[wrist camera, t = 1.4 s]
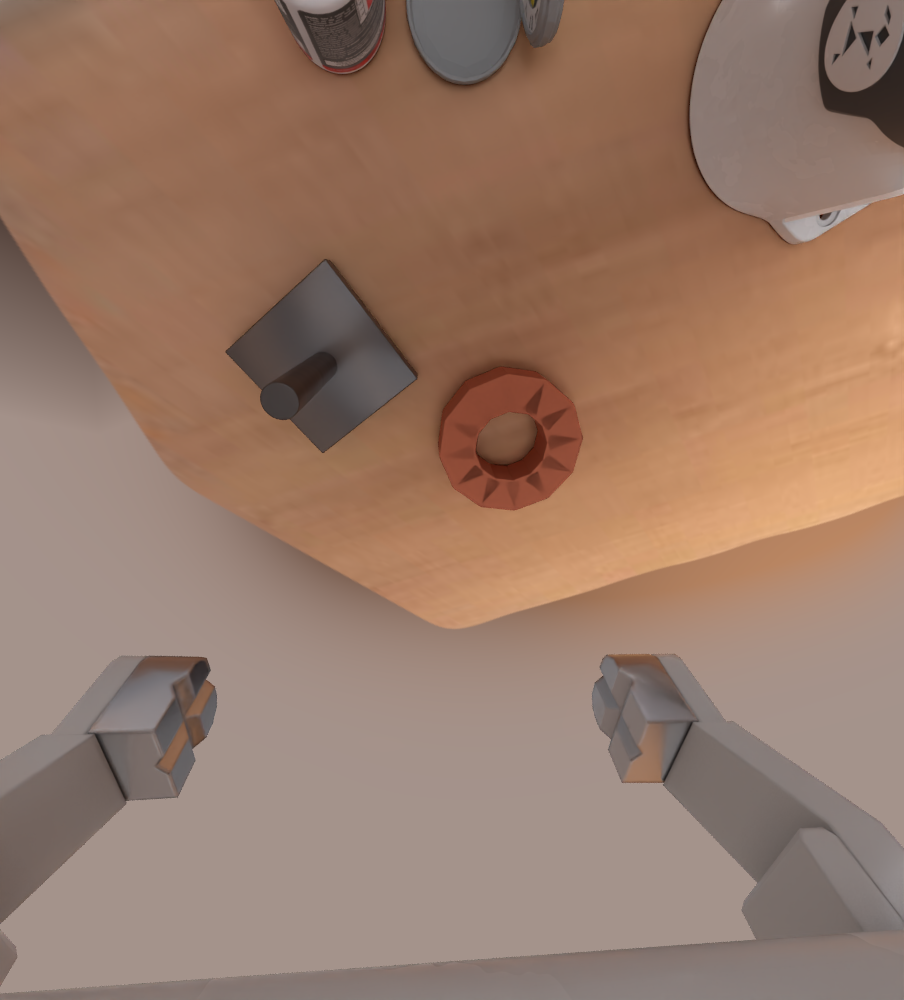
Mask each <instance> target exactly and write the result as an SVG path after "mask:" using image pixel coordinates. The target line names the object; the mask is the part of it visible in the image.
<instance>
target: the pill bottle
mask: <svg viewBox="0 0 904 1000" xmlns="http://www.w3.org/2000/svg"><path fill="white" fill-rule="evenodd" d="M275 2H276V4H277V6H278V8H279V10H280V12H281V14H282V16H283V18H284V20H285V22H286V24H287V25H288V27H289V29H290V31H291V33H292V35H293V37H294V38H295V40H296V42H297V44H298V45H299V46H300V48H301V49H302V51H303V52H304V53H305V54H306V55H307V56H308V57H309V58H310V59H311V60H312V61H313V62H314V63H315V64H317V65H318V66H319V67H321V68H323V69H325V70H327V71H329V72H332V73H337V74H348V73H352V72H355V71H358V70H359V69H361V68H363V67H364V66H365V65H366V64H368V63H369V61H370V60H371V59H372V58H373V56H374V55H375V53H376V52H377V50H378V48H379V45H380V43H381V40H382V37H383V33H384V28H385V18H386V6H385V0H275Z"/></svg>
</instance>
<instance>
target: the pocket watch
mask: <svg viewBox="0 0 904 1000" xmlns="http://www.w3.org/2000/svg"><path fill="white" fill-rule="evenodd" d="M406 2H407V19H408V23H409V26H410V30H411V33H412V37H413V40H414V44H415V46H416V48H417V49H418V51H419V53H420V55H421V57H422V58H423V59H424V60H425V62H426V63H427V65H428V66H429V67H430V68H431V69H432V71H434V72H435V73H436V74H438V75H439V76H440V77H442V78H443V79H445V80H447V81H450V82H452V83H455V84H464V85H467V84H474V83H477V82H480V81H482V80H485V79H486V78H488V77H489V76H491V75H492V74H493V73H495V72H496V71H497V70H498V69H499V68H500V67H501V66H502V64H503V63H504V62H505V60H506V58H507V57H508V55H509V53H510V51H511V49H512V48H513V46H514V44H515V41H516V38H517V35H518V32H519V29H520V24H521V18H522V22H523V26H524V29H525V33H526V36H527V38H528V39H529V41H530V44H531V45H532V47H533V48H537V47H542V46H544V45H546V44H547V43H550V42H551V41H552V39H553V38H554V36H555V34H556V32H557V29H558V26H559V23H560V19H561V15H562V10H563V4H564V0H406Z"/></svg>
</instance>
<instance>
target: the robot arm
mask: <svg viewBox="0 0 904 1000" xmlns="http://www.w3.org/2000/svg"><path fill="white" fill-rule="evenodd" d="M690 132H691V140H692V145H693V150H694V154H695V158H696V161H697V164H698V167H699V169H700V171H701V173H702V176H703V177H704V179H705V181H706V183H707V184H708V186H709V187H710V188H711V190H712V191H713V192H714V193H715V194H716V196H717V197H718V198H719V199H721V200H722V201H723V202H724V203H725V204H727V205H728V206H730V207H732V208H734V209H735V210H737V211H740V212H742V213H745V214H749V215H752V216H756V217H759V218H762V219H764V220H766V221H768V222H769V223H770V224H771V226H772V227H773V228H774V229H775V231H776V232H777V233H778V234H779V235H780V236H781V237H782V238H783V239H784V240H785V241H787V242H788V243H790V244H800V243H804V242H808V241H811V240H813V239H815V238H816V237H818V236H820V235H821V234H823V233H824V232H826V231H828V230H829V229H831V228H832V227H834V226H836V225H837V224H839V223H840V222H842V221H844V220H845V219H847V218H848V217H850V216H852V215H853V214H855V213H857V212H858V211H860V210H861V209H863V208H865V207H866V206H868V205H869V204H871V203H873V202H876V201H881V200H885V199H889V198H893V197H897V196H900V195H903V194H904V0H722V2H721V4H720V5H719V7H718V9H717V11H716V13H715V15H714V17H713V19H712V21H711V24H710V26H709V28H708V31H707V33H706V36H705V38H704V41H703V44H702V47H701V50H700V53H699V56H698V60H697V64H696V68H695V73H694V77H693V83H692V90H691V99H690ZM821 214H823V216H822V217H821V219H820V216H819V215H821ZM600 669H601V672H602V674H603V676H602V677H601V678H600V679H599V680H597V681H596V682H595V685H594V688H593V692H592V702H593V711H594V715H595V718H596V721H597V724H598V726H599V728H600V730H601V731H602V732H604V733H605V734H606V735H607V736H608V737H609V738H610V739H611V742H610V745H609V749H608V750H609V753H610V755H611V757H612V760H613V762H614V765H615V767H616V770H617V772H618V774H619V777H620V779H621V782H622V783H664V784H663V786H665V787H666V789H667V790H668V791H669V792H670V793H671V794H672V795H673V796H674V797H675V798H676V799H677V800H678V801H679V802H680V803H681V804H682V805H683V806H684V807H685V808H686V809H687V810H688V811H689V812H690V813H691V815H692V816H693V817H695V819H696V820H697V821H698V822H699V823H700V824H701V825H702V826H703V827H704V828H705V829H706V830H707V831H708V832H709V833H710V834H711V835H712V836H713V837H714V838H715V839H716V840H717V841H718V842H719V843H720V845H721V846H722V847H723V848H724V849H725V850H726V851H727V852H728V853H729V854H730V855H731V856H732V857H733V858H734V859H735V860H736V861H737V862H738V863H739V864H740V865H741V866H742V867H743V868H744V869H745V870H746V871H747V873H749V875H750V876H751V877H752V878H753V879H754V880H755V881H756V882H757V885H756V886H755V887H754V889H753V890H752V891H751V892H750V894H749V895H748V896H747V898H746V899H745V900H744V903H743V907H742V912H743V914H744V916H745V918H746V920H747V922H748V924H749V926H750V928H751V930H752V932H753V934H754V936H755V938H756V940H745V941H731V942H718V943H704V944H690V945H676V946H661V947H647V948H633V949H619V950H605V951H591V952H576V953H563V954H550V955H549V954H548V955H535V956H520V957H506V958H492V959H478V960H464V961H450V962H437V963H422V964H408V965H394V966H380V967H366V968H352V969H338V970H324V971H310V972H296V973H282V974H268V975H254V976H240V977H226V978H212V979H198V980H184V981H171V982H157V983H142V984H129V985H116V986H102V987H101V986H100V987H87V988H73V989H59V990H45V991H31V992H17V993H3V994H0V1000H904V848H903V847H902V846H901V845H900V843H899V842H898V841H897V840H896V839H895V838H894V836H893V835H892V834H891V833H890V832H889V831H888V830H887V828H886V827H885V826H884V825H883V824H882V823H881V822H880V821H878V820H877V819H875V818H874V817H872V816H871V815H869V814H868V813H867V812H865V811H864V810H862V809H860V808H859V807H858V806H856V805H855V804H853V803H852V802H851V801H849V800H848V799H846V798H845V797H843V796H842V795H840V794H839V793H837V792H836V791H834V790H833V789H832V788H830V787H829V786H827V785H826V784H824V783H823V782H821V781H819V780H818V779H817V778H815V777H814V776H812V775H811V774H810V773H808V772H807V771H805V770H803V769H802V768H801V767H799V766H798V765H796V764H795V763H793V762H792V761H791V760H789V759H787V758H786V757H785V756H783V755H782V754H780V753H778V752H777V751H776V750H774V749H773V748H771V747H770V746H768V745H767V744H765V743H764V742H763V741H761V740H760V739H758V738H757V737H755V736H754V735H752V734H751V733H750V732H748V731H746V730H745V729H744V728H742V727H741V726H739V725H738V724H736V723H735V722H733V721H726V720H725V719H724V718H723V716H722V715H721V714H720V712H719V711H718V709H717V708H716V707H715V705H714V704H713V702H712V701H711V700H710V698H709V697H708V695H707V694H706V693H705V691H704V690H703V689H702V687H701V686H700V684H699V683H698V682H697V680H696V679H695V677H694V676H693V675H692V673H691V672H690V670H689V669H688V668H687V666H686V665H685V663H684V662H683V661H682V659H681V658H680V657H678V656H677V655H676V654H651V655H650V654H619V655H606V656H605V657H604V658H603V659H602V662H601V665H600ZM209 672H210V667H209V663H208V660H207V658H204V657H182V656H179V657H178V656H120V657H118V658H117V659H115V660H113V661H112V662H111V663H110V664H109V665H108V666H107V668H106V669H105V670H104V671H103V672H102V674H101V675H100V676H99V677H98V678H97V680H96V681H95V682H94V683H93V684H92V686H91V687H90V688H89V689H88V690H87V692H86V693H85V694H84V695H83V696H82V698H81V699H80V700H79V701H78V702H77V704H76V705H75V706H74V707H73V708H72V710H71V711H70V712H69V713H68V715H67V716H66V717H65V718H64V719H63V720H62V722H61V723H60V724H59V725H58V727H57V728H56V729H55V730H54V731H53V733H52V734H51V735H41V736H39V737H37V738H36V739H34V740H32V741H31V742H29V743H28V744H26V745H24V746H23V747H21V748H19V749H18V750H16V751H14V752H13V753H11V754H10V755H8V756H6V757H5V758H3V759H1V760H0V924H1V922H3V921H4V920H5V919H6V918H7V917H8V916H9V915H10V914H11V913H12V912H13V911H14V910H15V909H16V908H17V907H19V906H20V905H21V904H22V903H23V902H24V901H25V900H26V899H27V898H28V897H29V896H30V895H31V894H32V893H33V892H34V891H35V890H36V889H37V888H39V886H41V885H42V884H43V883H44V882H45V881H46V880H47V879H48V878H49V877H50V876H51V875H52V874H53V873H54V872H55V871H56V870H57V869H58V868H60V867H61V866H62V864H64V863H65V862H66V861H67V860H68V859H69V858H70V857H71V856H72V855H73V854H74V853H75V852H76V851H77V850H78V849H79V848H81V847H82V846H83V845H84V844H85V843H86V842H87V841H88V840H89V839H90V838H91V837H92V836H93V835H94V834H95V833H96V832H97V831H98V830H99V829H100V828H102V827H103V826H104V825H105V824H106V823H107V822H108V821H109V820H110V819H111V818H112V817H113V816H114V815H115V814H116V813H117V812H118V811H119V810H120V809H122V808H123V807H124V806H125V805H126V801H129V800H146V799H161V798H176V797H178V796H179V794H180V792H181V790H182V787H183V785H184V783H185V781H186V779H187V777H188V775H189V773H190V771H191V769H192V766H193V765H194V762H195V757H194V753H193V750H192V749H193V748H194V747H195V746H196V745H198V744H199V743H200V742H201V741H202V740H204V739H205V738H206V737H207V735H208V733H209V730H210V728H211V726H212V724H213V720H214V716H215V712H216V708H217V695H216V690H215V686H213V685H212V684H211V683H210V682H209V681H207V680H206V678H207V676H208V674H209ZM16 959H17V953H16V946H15V945H14V944H13V943H12V942H11V941H10V940H9V939H8V937H7V936H6V935H5V934H4V933H3V932H2V931H1V930H0V986H1V984H2V982H3V981H4V979H5V977H6V976H7V974H8V972H9V970H10V969H11V967H12V965H13V964H14V962H15V960H16Z"/></svg>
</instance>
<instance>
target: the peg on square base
mask: <svg viewBox="0 0 904 1000" xmlns="http://www.w3.org/2000/svg"><path fill="white" fill-rule="evenodd" d="M226 353H227V354H228V355H229V356H230V357H231V358H232V359H233V361H234V362H235V363H236V364H237V365H238V366H239V367H240V368H241V369H242V370H243V371H244V372H245V373H246V374H247V375H248V376H249V377H250V378H251V379H252V380H253V381H254V382H255V383H256V384H257V385H258V387H259V388H260V389H261V390H262V391H261V395H260V400H261V404H262V407H263V409H264V410H265V411H266V412H267V413H268V414H269V415H270V416H272V417H273V418H276V419H279V420H287V419H290V420H291V421H292V422H293V423H294V424H295V425H296V426H297V427H298V428H299V429H300V430H301V431H302V432H303V433H304V434H305V435H306V436H307V437H308V438H309V440H310V441H311V442H312V443H313V444H314V445H315V446H316V447H317V448H318V449H319V450H320V451H321V452H322V453H324V452H325V451H326V450H328V449H329V448H330V447H332V446H333V445H334V444H335V443H337V442H338V441H339V440H340V439H342V438H343V437H344V436H345V435H347V434H348V433H349V432H351V431H352V430H353V429H354V428H356V427H357V426H358V425H359V424H361V423H362V422H363V421H364V420H366V419H367V418H368V417H370V416H371V415H372V414H373V413H375V412H376V411H377V410H378V409H380V408H381V407H382V406H383V405H385V404H386V403H387V402H389V401H390V400H391V399H392V398H394V397H395V396H396V395H397V394H399V393H400V392H401V391H402V390H404V389H405V388H406V387H408V386H409V385H410V384H411V383H413V382H414V381H415V380H416V379H417V376H418V375H417V373H416V372H415V371H414V369H413V368H412V367H411V365H410V364H409V363H408V362H407V360H406V359H405V358H404V356H403V355H402V354H401V352H400V351H399V350H398V348H397V347H396V346H395V345H394V343H393V342H392V341H391V339H390V338H389V337H388V335H387V334H386V333H385V332H384V330H383V329H382V328H381V326H380V325H379V324H378V322H377V321H376V320H375V319H374V317H373V316H372V315H371V313H370V312H369V311H368V309H367V308H366V307H365V305H364V304H363V303H362V302H361V300H360V299H359V298H358V296H357V295H356V294H355V292H354V291H353V290H352V289H351V287H350V286H349V285H348V283H347V282H346V281H345V279H344V278H343V277H342V276H341V274H340V273H339V272H338V270H337V269H336V268H335V266H334V265H333V264H332V262H331V261H330V260H327V259H324V260H323V261H322V262H321V263H320V264H319V265H318V266H317V267H316V268H315V269H314V270H313V271H312V272H310V273H309V274H308V275H307V276H306V277H305V278H304V279H303V280H302V281H301V282H300V283H299V284H298V285H296V286H295V287H294V288H293V289H292V290H291V291H290V292H289V293H288V294H287V295H286V296H285V297H284V298H282V299H281V300H280V301H279V302H278V303H277V304H276V305H275V306H274V307H273V308H272V309H271V310H270V311H268V312H267V313H266V314H265V315H264V316H263V317H262V318H261V319H260V320H259V321H258V322H257V323H256V324H254V325H253V326H252V327H251V328H250V329H249V330H248V331H247V332H246V333H245V334H244V335H243V336H242V337H240V338H239V339H238V340H237V341H236V342H235V343H234V344H233V345H232V346H231V347H230V348H229V349H228V350H226Z"/></svg>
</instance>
